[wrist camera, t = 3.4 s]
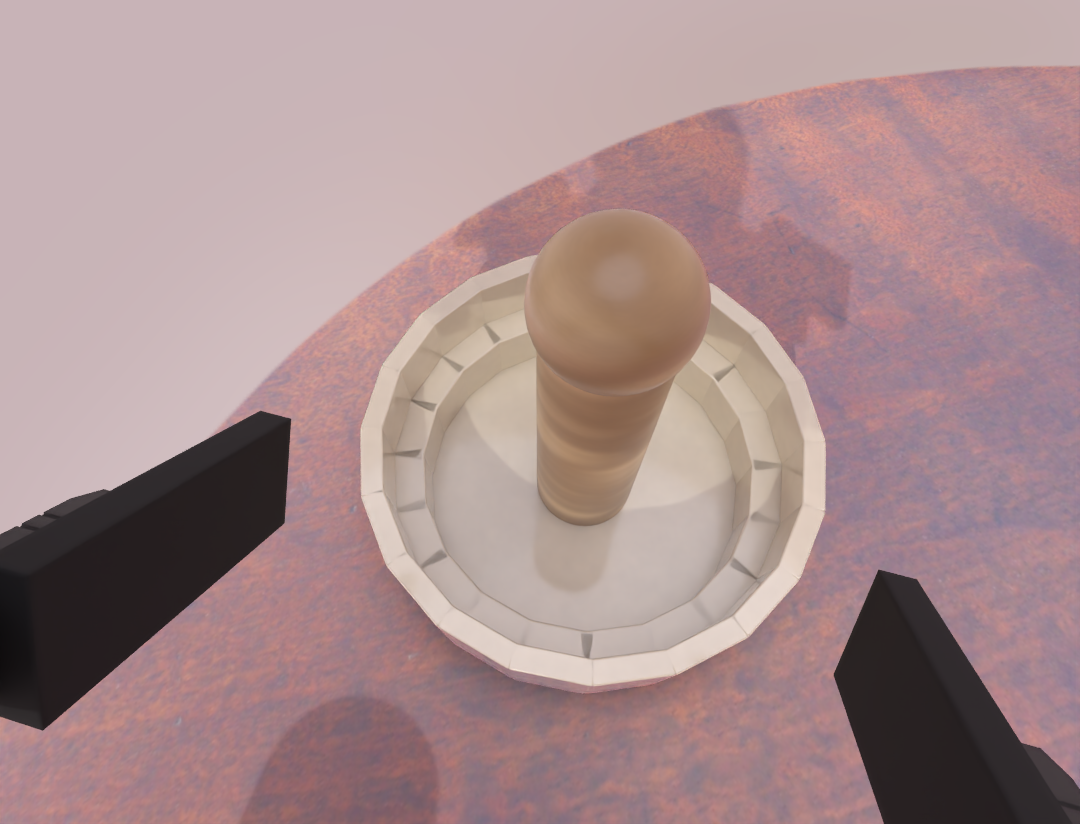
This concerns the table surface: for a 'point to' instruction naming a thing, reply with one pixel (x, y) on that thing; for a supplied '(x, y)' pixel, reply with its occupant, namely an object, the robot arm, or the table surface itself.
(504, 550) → the bowl
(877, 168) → the table surface
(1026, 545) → the table surface
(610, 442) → the pestle
